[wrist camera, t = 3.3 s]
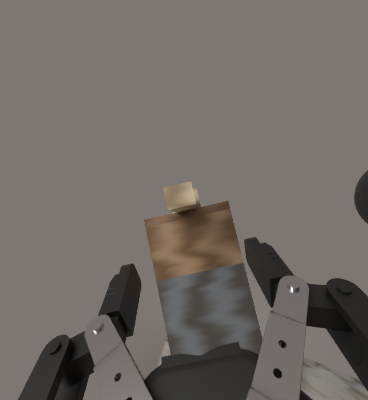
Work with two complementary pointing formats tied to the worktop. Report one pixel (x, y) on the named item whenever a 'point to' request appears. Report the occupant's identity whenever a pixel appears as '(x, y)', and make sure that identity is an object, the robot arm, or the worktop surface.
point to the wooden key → (181, 197)
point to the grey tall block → (202, 281)
